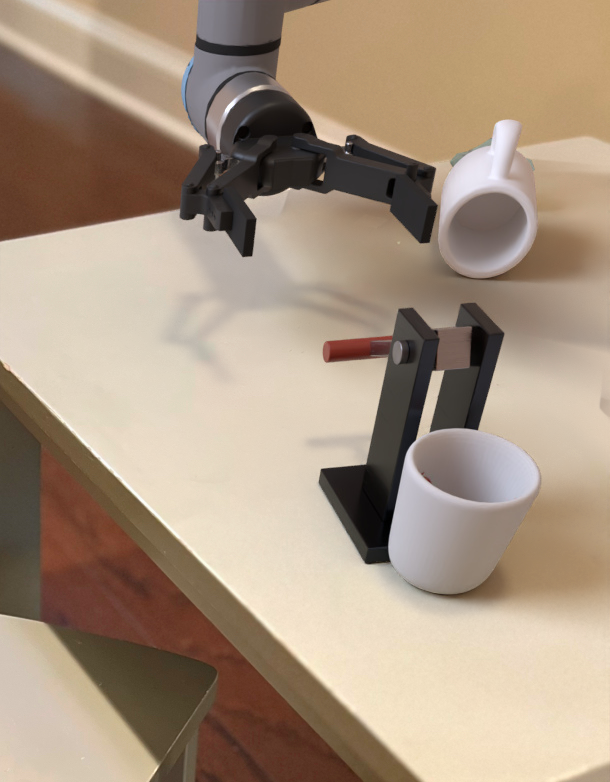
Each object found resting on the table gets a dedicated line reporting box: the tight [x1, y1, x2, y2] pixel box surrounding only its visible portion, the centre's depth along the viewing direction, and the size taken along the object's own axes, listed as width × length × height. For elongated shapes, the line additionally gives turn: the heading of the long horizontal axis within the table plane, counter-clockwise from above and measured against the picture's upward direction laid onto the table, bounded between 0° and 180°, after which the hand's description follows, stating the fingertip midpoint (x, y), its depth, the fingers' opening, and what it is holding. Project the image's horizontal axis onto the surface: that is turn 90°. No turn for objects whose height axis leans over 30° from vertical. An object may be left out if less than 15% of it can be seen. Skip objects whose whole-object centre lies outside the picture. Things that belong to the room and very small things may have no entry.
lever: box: [322, 326, 472, 372], centre depth 77 cm, size 13×7×2 cm, turn 8°
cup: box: [388, 428, 542, 595], centre depth 74 cm, size 11×8×8 cm
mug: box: [437, 119, 539, 279], centre depth 107 cm, size 8×10×12 cm
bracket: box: [317, 301, 505, 564], centre depth 76 cm, size 10×9×14 cm
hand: (340, 231), depth 86 cm, fingers open, 13 cm apart
